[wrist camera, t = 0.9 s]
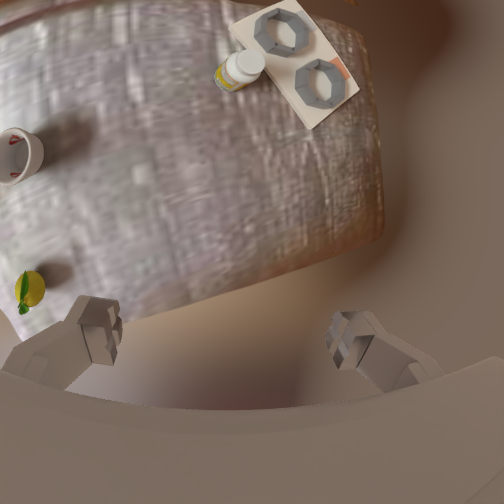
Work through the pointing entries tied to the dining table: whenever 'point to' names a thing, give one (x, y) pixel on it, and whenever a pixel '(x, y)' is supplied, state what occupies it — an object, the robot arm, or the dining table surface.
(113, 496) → the robot arm
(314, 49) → the socket board
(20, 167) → the cup
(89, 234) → the dining table surface
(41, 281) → the lemon
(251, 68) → the supplement bottle
